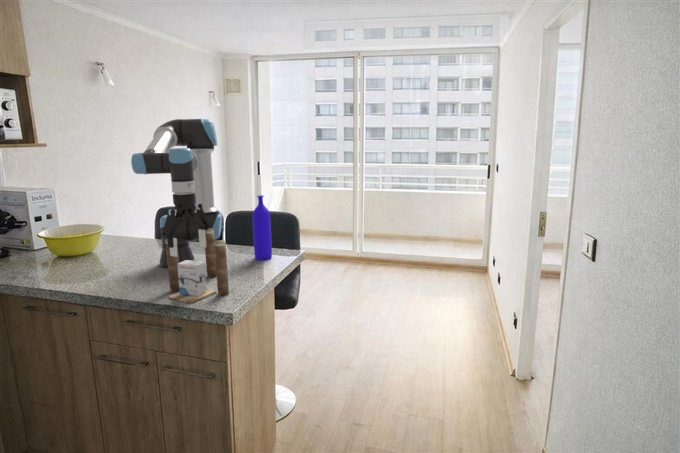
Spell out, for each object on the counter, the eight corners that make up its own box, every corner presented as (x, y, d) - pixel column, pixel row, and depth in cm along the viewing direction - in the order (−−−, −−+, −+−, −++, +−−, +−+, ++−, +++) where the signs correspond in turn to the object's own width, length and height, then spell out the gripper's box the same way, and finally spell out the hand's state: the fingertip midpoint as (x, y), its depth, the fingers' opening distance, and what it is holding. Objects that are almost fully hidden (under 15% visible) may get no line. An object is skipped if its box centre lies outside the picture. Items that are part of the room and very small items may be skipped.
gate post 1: (167, 291, 168) (162, 240, 164) (176, 287, 171) (171, 237, 167) (175, 293, 166) (170, 241, 162) (183, 289, 169) (179, 238, 165)
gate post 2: (204, 277, 184) (201, 230, 180) (212, 274, 188) (208, 228, 183) (212, 278, 182) (208, 231, 178) (219, 275, 186) (215, 229, 182)
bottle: (255, 256, 215) (252, 194, 208) (272, 255, 215) (270, 194, 209) (253, 260, 207) (250, 197, 200) (271, 260, 207) (268, 196, 201)
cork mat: (168, 298, 161) (167, 296, 161) (193, 288, 171) (193, 286, 171) (191, 303, 155) (191, 301, 155) (216, 293, 165) (216, 291, 165)
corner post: (215, 294, 164) (211, 242, 159) (223, 291, 167) (219, 239, 163) (223, 296, 162) (220, 243, 157) (231, 293, 165) (228, 241, 161)
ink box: (178, 294, 162) (176, 263, 160) (187, 289, 167) (184, 259, 164) (199, 296, 160) (196, 265, 157) (207, 291, 164) (204, 261, 162)
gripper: (161, 198, 143) (168, 261, 148) (217, 188, 164) (221, 244, 169) (146, 197, 146) (152, 258, 151) (202, 187, 168) (206, 241, 172)
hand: (189, 251), depth 160 cm, fingers open, 13 cm apart
